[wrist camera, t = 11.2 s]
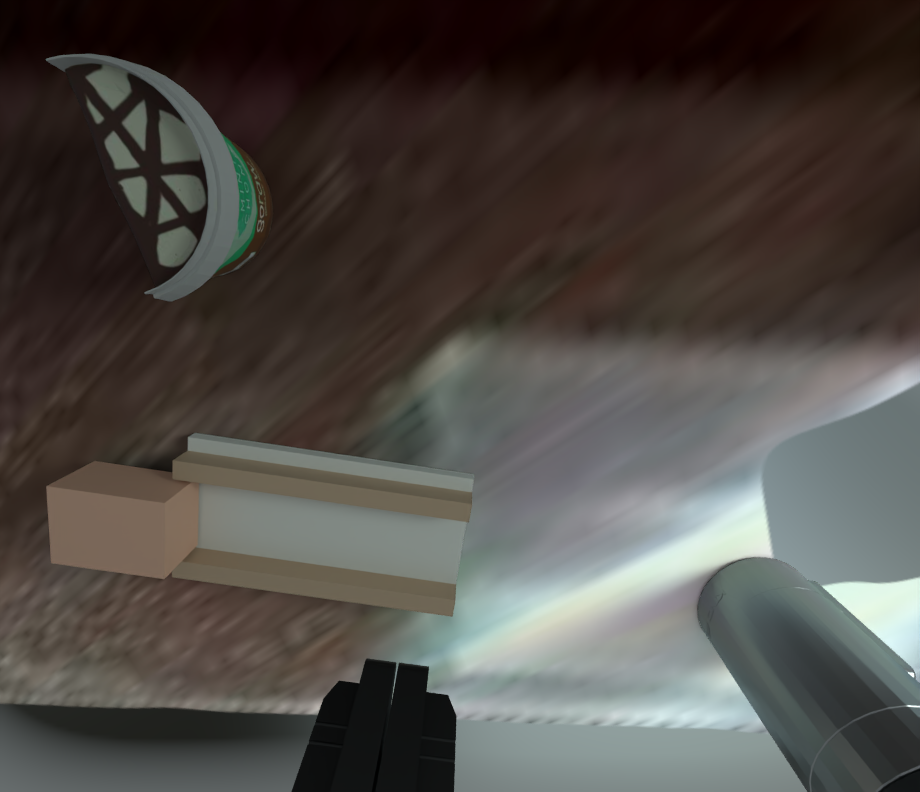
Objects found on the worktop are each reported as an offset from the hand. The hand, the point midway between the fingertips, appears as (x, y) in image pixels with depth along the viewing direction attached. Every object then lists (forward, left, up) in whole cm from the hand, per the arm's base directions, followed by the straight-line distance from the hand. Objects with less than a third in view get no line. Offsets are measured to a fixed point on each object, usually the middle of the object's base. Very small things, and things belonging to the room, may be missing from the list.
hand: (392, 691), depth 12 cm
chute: (+8, +12, -27) cm, 30 cm away
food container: (+16, -12, -27) cm, 34 cm away
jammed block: (+22, +12, -26) cm, 36 cm away
